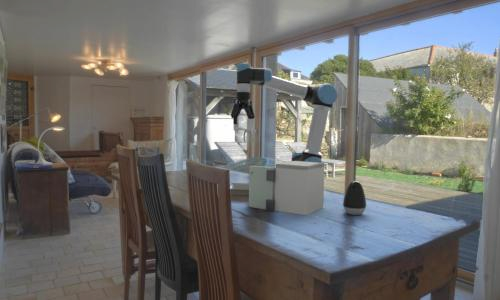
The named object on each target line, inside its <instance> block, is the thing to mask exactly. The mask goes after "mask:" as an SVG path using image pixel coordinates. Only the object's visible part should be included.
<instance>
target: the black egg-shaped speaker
mask: <svg viewBox="0 0 500 300" xmlns="http://www.w3.org/2000/svg"><path fill="white" fill-rule="evenodd" d="M365 194H366V193H365V190H364V188H363V186H362V184H361V183H360V181H358V180H352V181H351V182H350V183H349V184H348V186H347V188H346V191H345V193H344V197H343V202H342V206H343V209H344V211H345V212H346V213H347V215H348V214H349V215H352V216H360V215H363V213H364V212H365V210H366V208H367V199H366V195H365Z"/></svg>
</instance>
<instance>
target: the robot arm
mask: <svg viewBox="0 0 500 300" xmlns="http://www.w3.org/2000/svg"><path fill="white" fill-rule="evenodd" d="M251 85H252V86H256V85H257V86H259V87H260V86H261V87H264V88H267V89H270V90H274V91H277V92H280V93H284V94H287V95H290V96H293V97H295V98H296V97H297V98H300V100H301V101H304V102H307V103H310V104H311V106H312V108H313V111H312V117H311V122H310V126H309V132H308V135H307V141H306V145H305V149H303V150H302V152H293V153H292V155H291V161H304V162H318V163H323V161H322V159H323V154H322V152H321V149H322V145H323V140H324V136H325V135H324V134H325V129H326V125H327V120H328V116H329V112H330V111H331V110H332V108H333V105H334V103H335V102H336V101H337V100H338V95H339V94H338V93H339V92H338V89H337V88H336V86H334V85H332V84H330V83H322V84H318V85H311V84H310V85H309V84H304V85H303V84H300V83H297V82H294V81H290V80H287V79H284V78H280V77H277V76H274V75H273V71H272V69H271V68H267V67H263V68H262V67H252V66H251V63H249V62H248V63H247V62H241V63H238V64H237V66H236V99H234V103H233V107H232V111H231V112H230V117H231V119H232V120H233V123H232V124H233V131H239V118H238V117H239V116H240V113H241V112H242V110H244V112H245V114H246V116H247V120H246V123H247V125H246V126H247V127H246V128H247V129H246V130H247V131H253V119H255V113H254V107H253V104H252V103H253V101H251V100H250V99H251ZM249 100H250V101H249Z"/></svg>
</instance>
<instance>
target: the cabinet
mask: <svg viewBox="0 0 500 300" xmlns="http://www.w3.org/2000/svg"><path fill="white" fill-rule="evenodd" d="M275 168H276V172H275V211H274V212H281V213H288V214H295V215H301V216H308V215H310V214H313V213H315V212H317V211H319V210H321V209H324V197H325V196H324V192H325V191H324V189H325V162H322V163H318V162H304V161H292V160H291V161H285V162H279V163H275Z"/></svg>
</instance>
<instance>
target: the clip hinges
mask: <svg viewBox="0 0 500 300" xmlns="http://www.w3.org/2000/svg"><path fill="white" fill-rule="evenodd" d="M275 172H276V170H267V172H266V181H275ZM265 211H268V212H276V211H275V199H274V200H269V199H267V200H266V209H265Z"/></svg>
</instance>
